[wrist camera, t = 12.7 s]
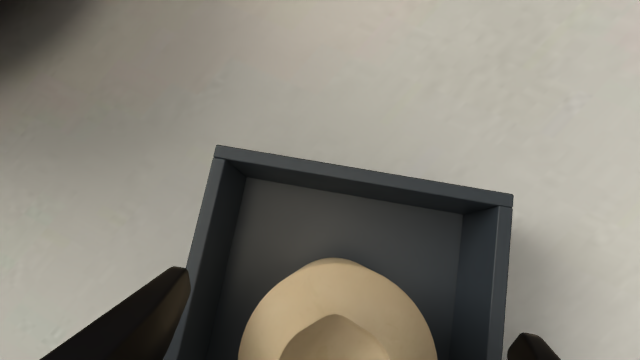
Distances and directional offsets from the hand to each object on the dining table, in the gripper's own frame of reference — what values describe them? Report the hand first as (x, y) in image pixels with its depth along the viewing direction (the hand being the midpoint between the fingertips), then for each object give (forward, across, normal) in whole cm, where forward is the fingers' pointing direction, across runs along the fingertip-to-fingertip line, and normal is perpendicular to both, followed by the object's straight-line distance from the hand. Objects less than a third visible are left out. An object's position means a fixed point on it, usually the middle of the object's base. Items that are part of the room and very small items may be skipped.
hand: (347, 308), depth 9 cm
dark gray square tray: (+6, 0, +8) cm, 10 cm away
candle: (+5, 0, +8) cm, 9 cm away
